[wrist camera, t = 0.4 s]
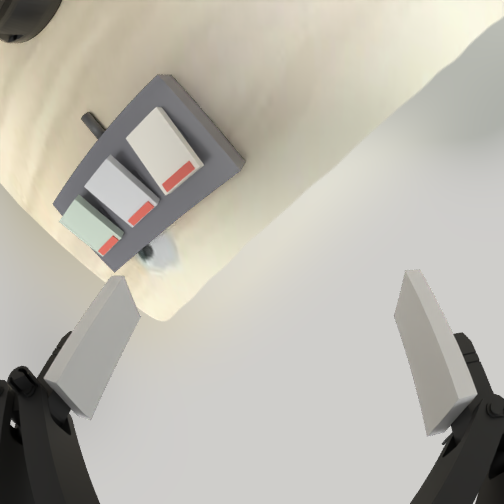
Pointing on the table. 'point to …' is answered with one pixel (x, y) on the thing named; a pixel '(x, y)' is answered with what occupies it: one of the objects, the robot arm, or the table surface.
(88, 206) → the sage rocker
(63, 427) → the robot arm
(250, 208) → the table surface
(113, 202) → the grey rocker
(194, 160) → the cream rocker
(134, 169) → the rocker switch panel
